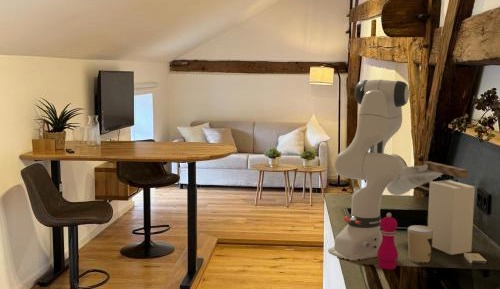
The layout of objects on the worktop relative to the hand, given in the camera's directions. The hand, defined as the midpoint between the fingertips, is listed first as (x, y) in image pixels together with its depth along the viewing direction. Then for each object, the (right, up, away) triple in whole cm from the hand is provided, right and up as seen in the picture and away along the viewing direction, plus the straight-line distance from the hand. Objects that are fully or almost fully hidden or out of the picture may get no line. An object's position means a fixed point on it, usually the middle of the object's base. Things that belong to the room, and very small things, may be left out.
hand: (432, 165), depth 228 cm
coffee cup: (-12, -35, -20) cm, 42 cm away
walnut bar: (+3, -3, -6) cm, 7 cm away
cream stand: (+4, -33, -7) cm, 34 cm away
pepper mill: (-26, -36, -28) cm, 52 cm away
